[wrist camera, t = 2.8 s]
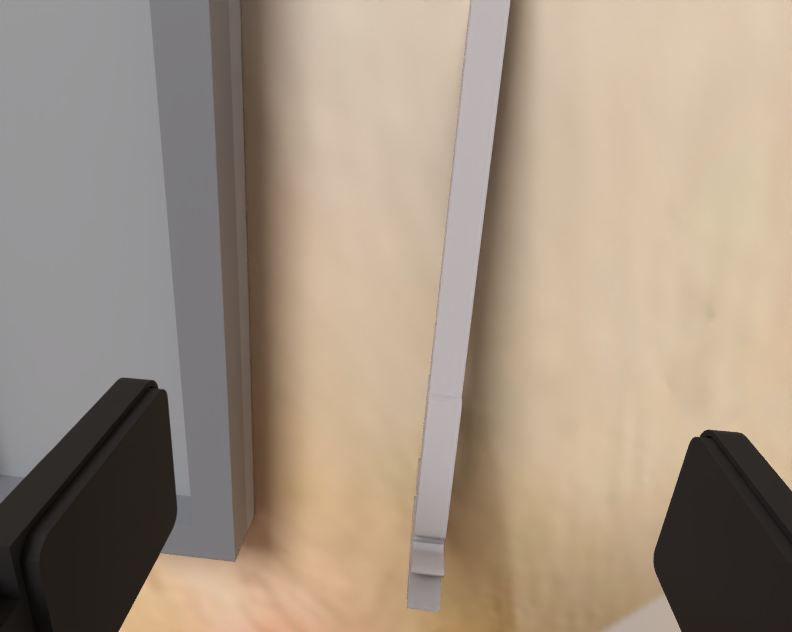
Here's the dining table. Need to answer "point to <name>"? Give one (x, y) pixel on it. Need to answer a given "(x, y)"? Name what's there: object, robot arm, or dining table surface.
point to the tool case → (128, 240)
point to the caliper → (456, 297)
